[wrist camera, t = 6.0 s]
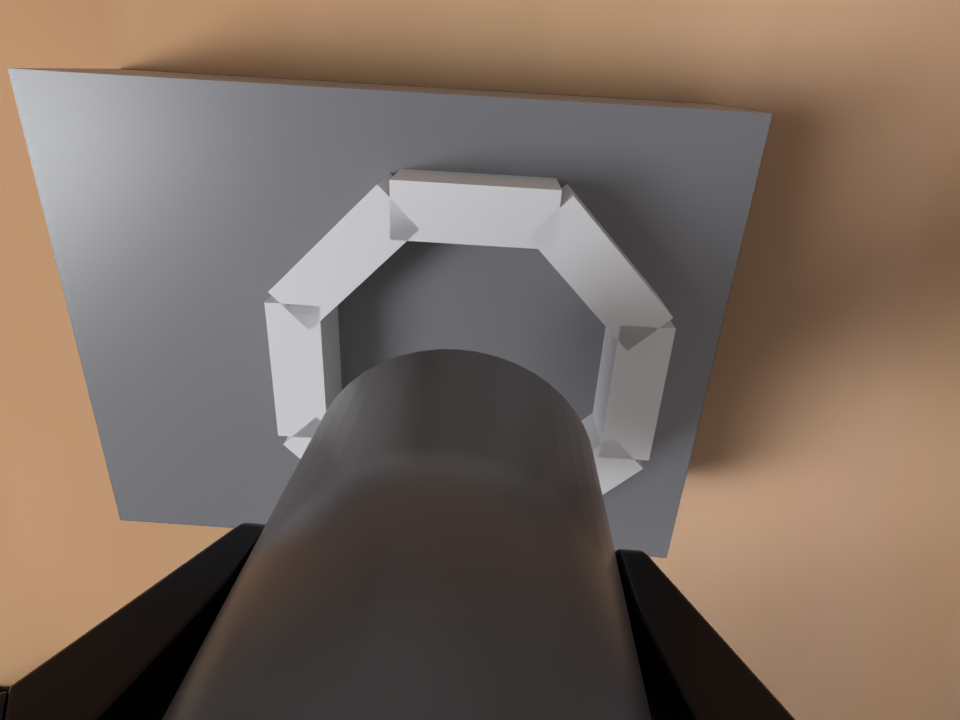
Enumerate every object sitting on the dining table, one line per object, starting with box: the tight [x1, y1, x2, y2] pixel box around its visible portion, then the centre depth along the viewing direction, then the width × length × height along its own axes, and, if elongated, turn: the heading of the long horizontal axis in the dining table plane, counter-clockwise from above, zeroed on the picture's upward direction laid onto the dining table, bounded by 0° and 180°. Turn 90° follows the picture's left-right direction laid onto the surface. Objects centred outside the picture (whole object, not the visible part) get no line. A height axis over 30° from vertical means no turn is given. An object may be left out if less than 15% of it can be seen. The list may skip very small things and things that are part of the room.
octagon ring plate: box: [8, 68, 773, 558], centre depth 16 cm, size 16×12×6 cm
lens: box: [162, 349, 652, 720], centre depth 7 cm, size 5×5×8 cm
